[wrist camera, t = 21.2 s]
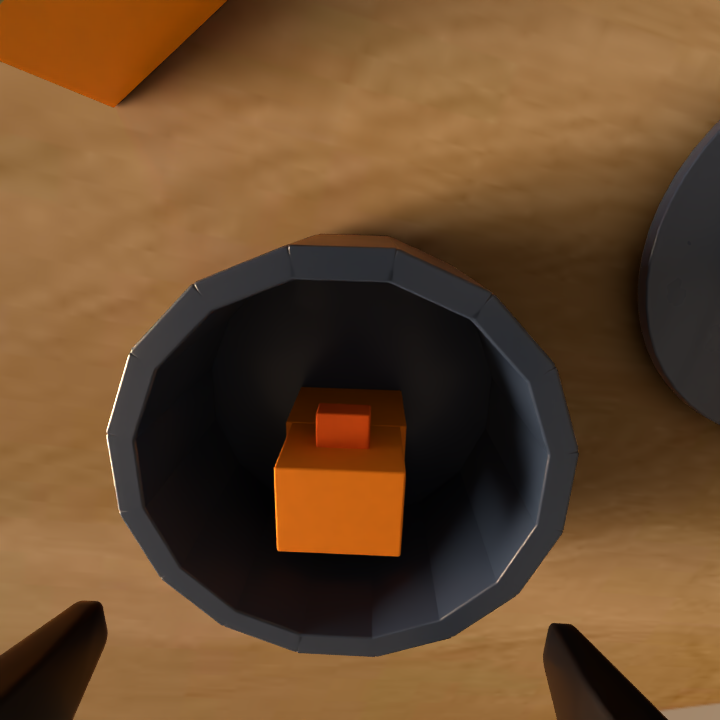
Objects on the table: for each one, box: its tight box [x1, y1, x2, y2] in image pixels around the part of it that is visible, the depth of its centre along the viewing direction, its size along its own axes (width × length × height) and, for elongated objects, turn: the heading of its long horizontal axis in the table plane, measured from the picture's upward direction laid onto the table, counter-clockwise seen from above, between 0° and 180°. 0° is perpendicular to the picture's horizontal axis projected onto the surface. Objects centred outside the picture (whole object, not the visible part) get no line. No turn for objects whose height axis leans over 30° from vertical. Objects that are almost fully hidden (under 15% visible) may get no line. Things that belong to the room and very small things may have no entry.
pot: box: [106, 234, 579, 657], centre depth 15 cm, size 13×13×6 cm
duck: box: [274, 387, 407, 556], centre depth 16 cm, size 6×4×6 cm, turn 179°
